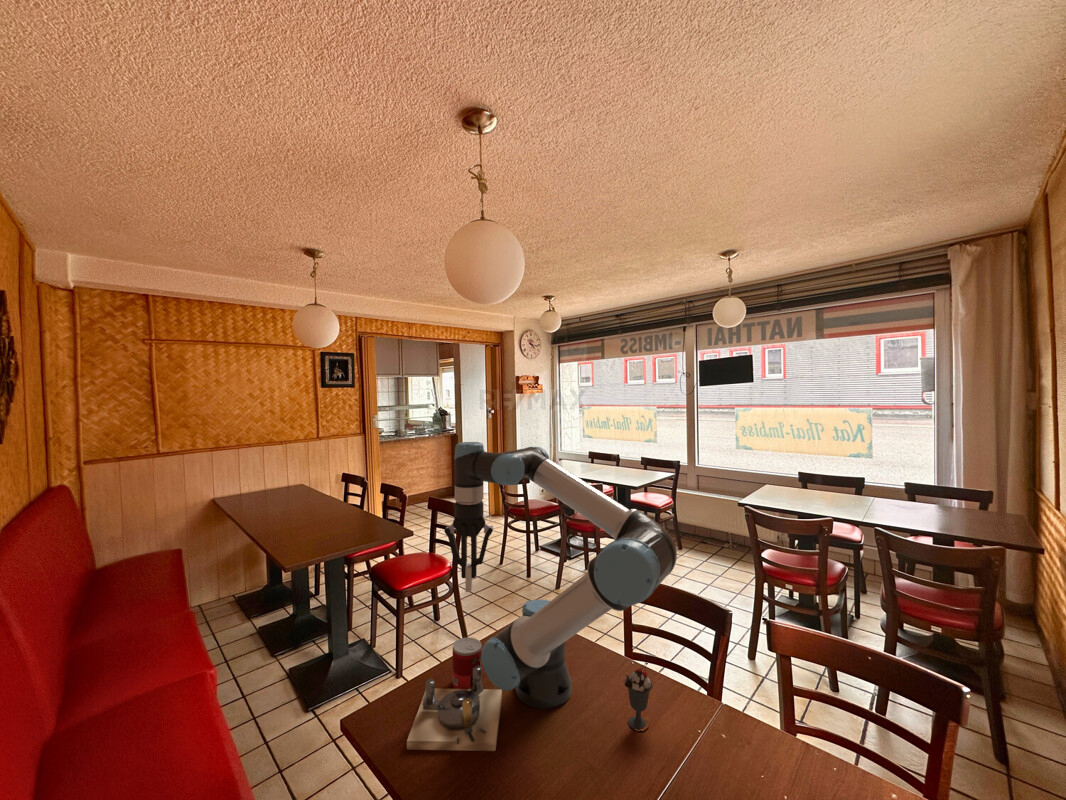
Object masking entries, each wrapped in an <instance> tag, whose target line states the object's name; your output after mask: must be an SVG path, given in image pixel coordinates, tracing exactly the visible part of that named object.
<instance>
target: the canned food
mask: <svg viewBox="0 0 1066 800" xmlns="http://www.w3.org/2000/svg"><path fill="white" fill-rule="evenodd" d="M482 649H483V646H482V642H481V641H480V640H479V639H477V638H475V637H462V638H459V639H456V641H454V642H453V645H452V686H453V689H472V688H473V667H475V666H481V667H482V665H483V664H482Z"/></svg>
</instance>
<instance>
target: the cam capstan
mask: <svg viewBox="0 0 1066 800" xmlns="http://www.w3.org/2000/svg"><path fill="white" fill-rule="evenodd" d="M435 683H436V681H435V679H434V678H428V679H427V680H426V681H425V691H424V693H425V701H424V703H423V710H438V720H439V722H440V724H441V725H442V726H443V727H445V728H447V729H451V730H461V729H463V730H464V732H465V734H469V733H472V725H473V724H474V723H475V722H476V721H477V720H478V718H479V715H480V700H479V698H478V695H479V694H480V693H481V692H482V691H483V689H484V685H483V684H482V665H481V666H475V667H473V688H472V689H471V690H470V691H465V690H459V691H454V692H451V693H449V694H447V695H445V696H444V697H443V698H442V699H441V700H435V689H436V685H435Z"/></svg>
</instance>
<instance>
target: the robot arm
mask: <svg viewBox="0 0 1066 800" xmlns="http://www.w3.org/2000/svg"><path fill="white" fill-rule="evenodd" d="M454 447H455V448H454V458H453V460H454V501H455V503H454V517H453V518H454V519H453V521H452V523H451V524H450V525H446V527H445V528H444V530H443V532H444V534H445V535H446V537H447V538H448V542H449V547H450V550H451V555H452V559H453V562H454V564H455V565H459V566H460V568H461V572H460V573H461V575H460V576H461V579H465V584H464V585H465V587H464V589H465V591H464V593H471V592H472V590H473V579H476V578H477V572H478V571H477V569H478V568H477V567H478V565H482V564H483V561H484V559H485V555H486V550H487V547H488V542H489V538H490V536H491V535H492V533H493V531H494V526H493V525H489V524H488V523H486V520H485V517H484V501H483V500H484V483H491V484H497V485H499V486H500V485H502V486H517V485H518V484H519V482H520V481H522V480H523V478H526V479H528V480H529V481H532V482H533V483H534V484H536V485H537V486H538V487H540V488H541V489H543V490H544V491H546V492H547V493H549V494H550V495H552V497H554V498H556V499H557V500H559V501H560V502H562V503H563V504H564V505H566V506H568V507H569V508H570V509H572V510H574V511H575V512H577V513H578V514H579V515H581V517H583V518H585V519H587V521H589V522H590V523H592V524H593V525H595V526H596V527H598V528H600V530H603V532H605V533H607V534H608V535H610V536H611V537H612V538H613V541H611V542H610V543H608V544H606V546H604V547H603V548H602V550H601V551H600V552H599V553H598V554H597V555H596V556H594V557H593V558H591V560H590V561H589V562H588V564H587V571H586V573H585V574H584V575H582V576H581V577H579V578H578V579H577V580H575V582H573V583H572V584H571V585H569V586H568V587H567V588H565V589H564V590H563V591H562V592H560V593H559V594H558V595H557V596H555V597H554V598H553V599H552V600H547V599H531V600H528V601H526V602H525V603H523V605H522V609H521V612H522V615H521V616H519V617H518V618H516V619H515V620H514V621H513V622H511V623H510V624H508V626H506V627H504V629H502V630H501V631H500V632H498V633H497V634H496V635H493V636H492V637H490V638H488V640H487V641H486V642H485V643H484V645H483V646H482V664H481V665H482V666H483V669H484V672H485V674H486V676H487V678H488V679H489V681H490V682H491V683H492V684H493V685H494V686H495V687H497V688H498V689H499V690H502V691H505V692H508V691H509V692H510V691H513V690H514V689H515V694H516V696H517V697H518V699H519V700H520V701H521V702H523V703H524V704H526V705H527V706H529V707H531V708H536V709H541V710H542V709H554V708H556V707H560V706H561V705H563V704H564V703H566V702H567V701H568V700H569V698H571V694H572V679H571V676H570V673H569V670H568V666H567V663H566V642H567V641H568V640H569V639H571V638H572V637H574V636H575V635H577V634H578V633H580V632H581V631H582V630H584V629H585V628H586V627H588V626H589V625H591V624H592V623H594V622H595V621H596V620H598V619H600V618H601V617H602V616H604V615H605V614H607V612H610V611H611V610H614V611H616V612H623V611H625V610H627V609H628V608H630V607H631V606H635V605H638V604H640V603H642V602H644V601H646V600H647V599H648V598H650V596H651V595H652V594H653V593H654V592H655V591H656V589H657V588H658V586H659V585H660V584H661V583H662V582H663V581H664V580H665V578H667V577H668V576H669V575H670V574H671V573H672V572H673V570H674V568H675V566H676V563H677V560H678V559H677V558H678V554H677V546H676V543H675V541H674V539H673V537H672V536H671V534H670V532H668V531H667V530H666V528H665V527H663V526H662V525H661V524H660V523H658V522H657V521H656V520H654V519H653V518H651V517H649V516H648V515H647V514H645V513H643V512H642V511H640V510H639V509H636V508H633V509H629V508H627V507H626V506H625V505H623V504H621V503H620V502H618V501H616V500H615V499H613V498H611V497H610V496H608V495H607V494H606V493H603V492H602V491H601V490H599V489H597V488H596V487H594V486H593V485H591V484H590V483H588V482H586V480H585V481H584V480H583V479H581V478H580V477H578V476H577V475H575V474H574V473H572V472H570V471H569V470H568V469H566V468H564V467H563V466H561V465H559V464H558V463H556V462H555V461H554V460H551V459H550V455H549V454H548V452H547V451H546V449H544V448H543V447H541V446H540V447H539V446H529V447H525V448H520V449H516V450H514V449H513V450H509V451H504V452H491V451H485V449H484V444H483V443H482V442H479V441H461V442H459V443H456V444H455V446H454ZM482 530H483V533H484V536H483V540H482V545H481V548H480V551H479V555H478V550H477V549H478V544H477V543H478V535H479V534H480V532H481V531H482ZM455 531H456V532H457V533H458V535H459V536H460V541H461V543H460V546H461V547H460V548H461V549H460V551H461V552H460V551H459V547H458V544H457V540H456V535H455ZM468 537H469V538H470V562H469V563H468ZM477 555H478V556H479V557H478V556H477Z"/></svg>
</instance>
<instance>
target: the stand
mask: <svg viewBox="0 0 1066 800" xmlns="http://www.w3.org/2000/svg"><path fill="white" fill-rule="evenodd" d="M459 690H465V691H470V690H471V689H455V688H435V700H441V699H442V698H443V697H444V696H445V695H447V694H449V693H451V692H454V691H459ZM478 698H479V700H480V715H479V718H478V720H477V721H476V722H475V723H474V724H473V725H472V733H469V734H465V732H464V730H463V729H461V730H451V729H447V728H445V727H443V726H442V725H441V724H440V722H439V720H438V710H423V703H424V701H425V692H424V694H423V696H422V698H421V702H420V705H419V708H418V710H417V713H416V715H415V718H414V720H413V722H412V726H411V729H410V731H409V734H408V736H407V737H408V738H407V740H406V750H410V751H412V750H415V751H416V750H417V751H419V750H420V751H427V750H428V751H468V752H469V751H472V752H473V751H474V752H475V751H479V752H495V751H496V749H497V744H498V743H497V742H498V733H499V723H500V716H501V707H502V700H503V699H502V698H503V690H501V689H499V688H498V689H495V688H494V689H490V688H489V689H488V688H485V689H484V688H483V691H482V692H481V693H480V694H479V695H478Z"/></svg>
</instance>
